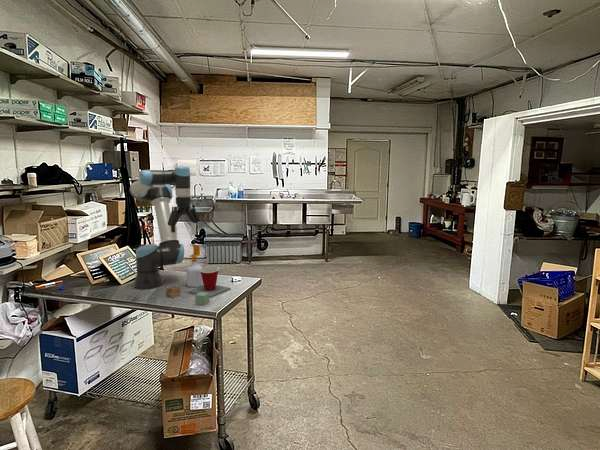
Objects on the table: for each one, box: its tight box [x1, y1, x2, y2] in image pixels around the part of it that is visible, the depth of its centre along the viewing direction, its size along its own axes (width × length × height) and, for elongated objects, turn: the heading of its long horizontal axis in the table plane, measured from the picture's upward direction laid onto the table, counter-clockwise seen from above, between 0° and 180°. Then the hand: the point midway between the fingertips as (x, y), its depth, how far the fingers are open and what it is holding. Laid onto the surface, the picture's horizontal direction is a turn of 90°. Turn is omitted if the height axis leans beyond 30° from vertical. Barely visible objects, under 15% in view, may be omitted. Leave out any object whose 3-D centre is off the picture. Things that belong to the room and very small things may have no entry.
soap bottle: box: [186, 243, 204, 288], centre depth 214 cm, size 9×9×25 cm
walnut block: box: [165, 285, 181, 299], centre depth 197 cm, size 5×5×5 cm
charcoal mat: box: [188, 284, 231, 299], centre depth 205 cm, size 16×16×1 cm
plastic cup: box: [199, 265, 220, 291], centre depth 205 cm, size 11×11×12 cm
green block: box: [194, 292, 210, 306], centre depth 186 cm, size 5×5×5 cm
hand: (184, 236), depth 197 cm, fingers open, 13 cm apart
